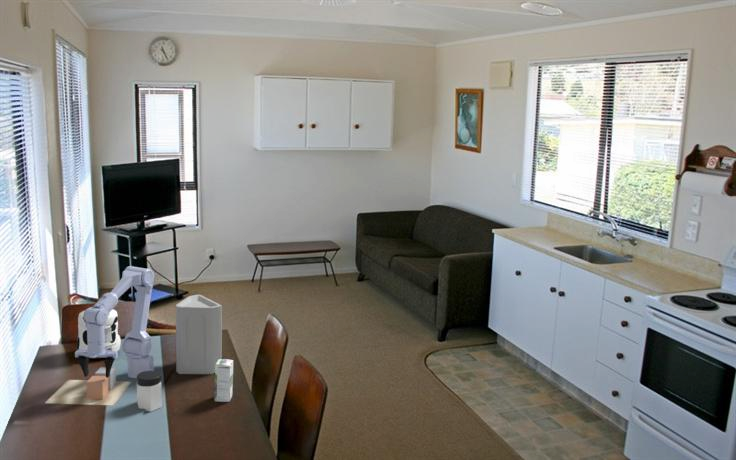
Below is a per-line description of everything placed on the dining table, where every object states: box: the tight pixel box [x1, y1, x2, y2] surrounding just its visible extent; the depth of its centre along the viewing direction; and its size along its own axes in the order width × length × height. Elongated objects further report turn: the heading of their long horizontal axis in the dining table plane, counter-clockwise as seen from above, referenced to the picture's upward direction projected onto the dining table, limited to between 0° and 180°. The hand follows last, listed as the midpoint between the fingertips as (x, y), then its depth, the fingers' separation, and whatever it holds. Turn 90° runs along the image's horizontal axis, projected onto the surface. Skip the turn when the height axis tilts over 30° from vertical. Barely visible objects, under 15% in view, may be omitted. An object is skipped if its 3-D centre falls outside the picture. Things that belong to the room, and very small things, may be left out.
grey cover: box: [94, 366, 117, 390], centre depth 247 cm, size 6×6×6 cm
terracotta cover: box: [87, 375, 108, 400], centre depth 239 cm, size 6×6×6 cm
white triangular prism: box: [175, 294, 223, 375], centre depth 268 cm, size 19×15×28 cm
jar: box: [136, 370, 163, 412], centre depth 235 cm, size 9×8×12 cm
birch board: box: [44, 379, 132, 406], centre depth 243 cm, size 24×20×1 cm
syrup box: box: [213, 358, 234, 403], centre depth 243 cm, size 6×6×14 cm
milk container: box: [76, 308, 122, 359], centre depth 279 cm, size 17×17×18 cm
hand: (97, 376), depth 238 cm, fingers open, 7 cm apart
